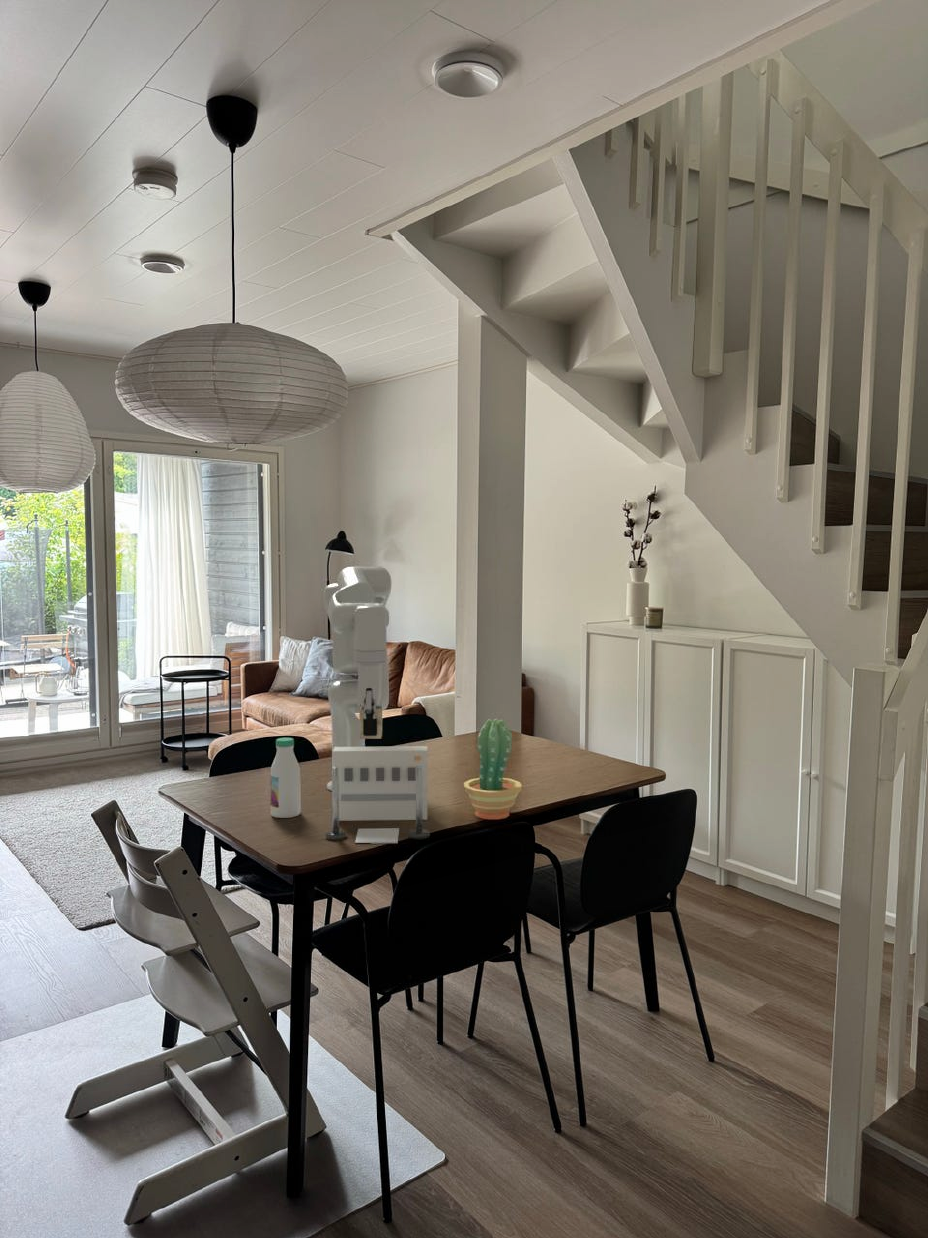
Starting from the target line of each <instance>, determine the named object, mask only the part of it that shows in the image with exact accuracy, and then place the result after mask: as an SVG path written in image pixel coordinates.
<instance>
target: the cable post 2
mask: <svg viewBox="0 0 928 1238" xmlns="http://www.w3.org/2000/svg"><path fill="white" fill-rule="evenodd" d="M430 834H431V833H430V830H428V829H427V828H426V829H425V828H423V820H422V766H416V820H415V828H414V829H410V830H409V831H408V838H410V839H412V840H425V839H428V838H430Z"/></svg>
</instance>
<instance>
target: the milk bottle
mask: <svg viewBox="0 0 928 1238" xmlns="http://www.w3.org/2000/svg"><path fill="white" fill-rule="evenodd" d="M294 745H295V740H294V738H293V737H279V738H277V739H275V748H276V754H275V757H274V759H273V762H272V764H271V767H270V774H269V775H270V778H269V779H270V788H269V789H270V792H269V793H270V814H271V816H272V817H274V818H278V819H279V818H280V819H289V818H295V817H298V816H299V815H300V814H301V811H302V799H301V797H302V793H301V788H302V787H301V769H300V768H301V767H300V765H299V762H298V760H297V758H296V755H295V752H294V748H295V746H294Z"/></svg>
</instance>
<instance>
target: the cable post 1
mask: <svg viewBox="0 0 928 1238" xmlns="http://www.w3.org/2000/svg"><path fill="white" fill-rule="evenodd" d="M331 781H332V791H331V808H332V809H331V812H332V813H331V814H332V815H331V817H332V818H331V820H332V821H331V823H332V824H331V825H332V826H331V827H332V830H328V831H326V832H324V833H325V836H324V837H325V838H324V839H325V840H327V839H329V840H328V841H332V840H337V841H341V840H340V839H343V840H345V839H346V838H347V831H346V830H344V829H343V830H342V829H340V821H339V769H338V767H332V766H331ZM345 837H346V838H345ZM344 838H345V839H344Z"/></svg>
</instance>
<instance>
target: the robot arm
mask: <svg viewBox="0 0 928 1238" xmlns="http://www.w3.org/2000/svg"><path fill="white" fill-rule="evenodd" d="M336 582H337V583H332V584H328V585H326V586H325V588H324V590H323V594H322V597H323V605H324V608H325V612H326V615H327V617H328V621H329V622H330V626H331V631H332V633H331V634H332V635H331V641H332V647H331V648H332V665H333V666H332V667H333V669H334V672H335V673H337V674H338V675H342V676H343V675H344V676H357V675H358V677H357V679H342V680H341V679H340V680H337V681H334V682H333V683H331V684H330V685H329V687H328V691H327V698H328V703H329V709H330V717H331V718H330V719H331V763H332V764H331V765H332V766H331V768H332V767H333V750H334V748H335V747H366V743H365V741H366V739H360V718H359V717H358V716H357V715H356V714H358V713H359V709H360V707H361V706H364V719H363V735H364V736H376V735H377V719H376V706H382V712H383V711H384V710H386V709H387V708H388V706H389V701H390V683H389V679H390V677H389V656H388V650H387V627H388V626H389V624H390V613H389V609H387V608H386V605H387V602H388V600H389V597H390V594H391V590H392V578H391V575H390V572H389V571H388V570H387V568H385V567H383V566H379V565H378V566H377V565H376V566H365V565H364V566H359V565H357V566H348V567H346V568H343V569H342V570H341V571H340V572H339V574H338V576H337V581H336ZM372 708H373V709H372ZM326 788H327V790H328V791H331V792H332V780H330V781H329V782H327V783H326Z"/></svg>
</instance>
